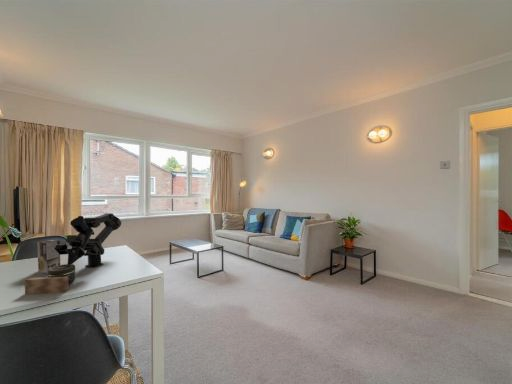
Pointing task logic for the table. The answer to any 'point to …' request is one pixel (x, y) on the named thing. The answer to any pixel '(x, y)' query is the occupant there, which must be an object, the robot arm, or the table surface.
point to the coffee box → (47, 255)
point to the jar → (63, 272)
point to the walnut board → (46, 285)
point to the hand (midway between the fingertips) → (69, 264)
